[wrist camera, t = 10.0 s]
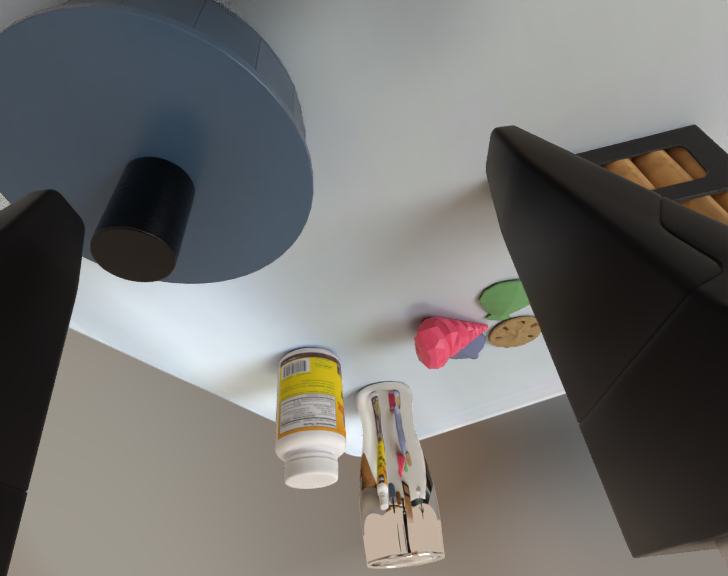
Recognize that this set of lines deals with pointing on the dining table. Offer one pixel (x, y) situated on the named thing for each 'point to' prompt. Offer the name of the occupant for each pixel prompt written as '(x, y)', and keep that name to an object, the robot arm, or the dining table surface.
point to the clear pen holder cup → (395, 482)
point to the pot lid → (151, 143)
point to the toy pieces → (477, 328)
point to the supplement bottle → (310, 417)
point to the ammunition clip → (673, 168)
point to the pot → (224, 39)
